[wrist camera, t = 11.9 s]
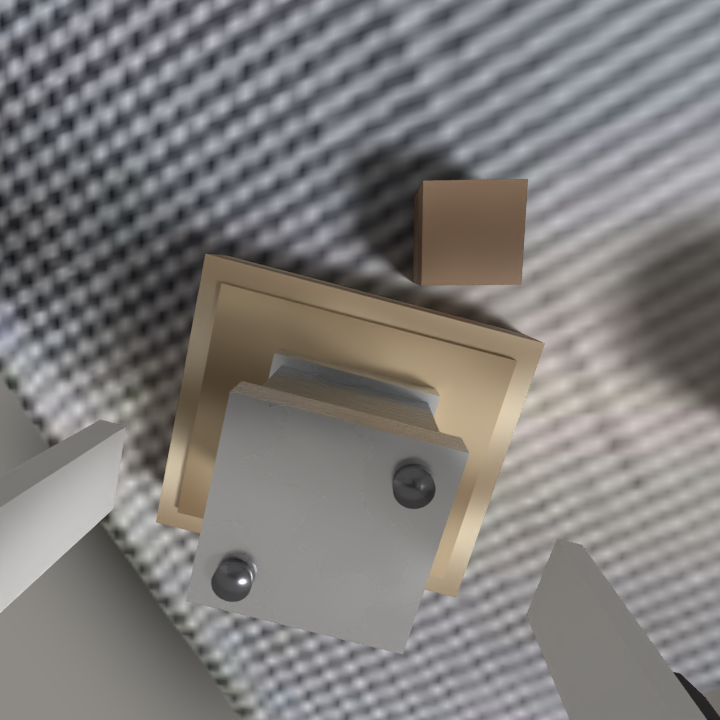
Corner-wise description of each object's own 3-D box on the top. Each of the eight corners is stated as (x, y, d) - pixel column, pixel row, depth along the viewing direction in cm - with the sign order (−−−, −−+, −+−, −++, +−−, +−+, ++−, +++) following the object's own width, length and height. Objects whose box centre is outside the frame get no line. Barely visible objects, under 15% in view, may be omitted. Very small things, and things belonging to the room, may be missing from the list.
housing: (247, 491, 21) (180, 610, 14) (280, 347, 20) (225, 395, 12) (393, 528, 21) (403, 665, 14) (436, 388, 20) (472, 458, 12)
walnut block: (414, 196, 21) (423, 180, 17) (499, 195, 21) (527, 179, 17) (413, 282, 22) (421, 285, 18) (495, 281, 22) (521, 284, 18)
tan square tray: (227, 255, 22) (202, 253, 19) (522, 333, 22) (547, 344, 19) (181, 491, 25) (153, 525, 21) (446, 558, 25) (457, 601, 22)
